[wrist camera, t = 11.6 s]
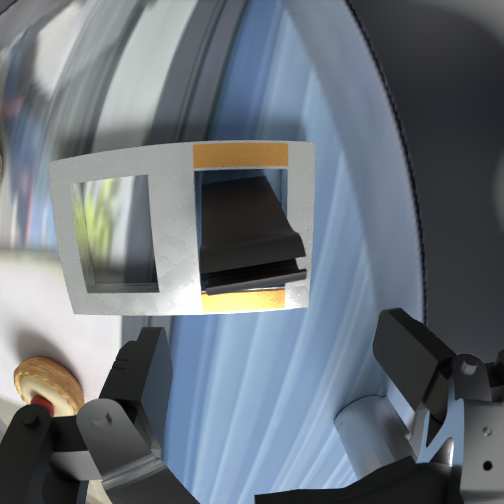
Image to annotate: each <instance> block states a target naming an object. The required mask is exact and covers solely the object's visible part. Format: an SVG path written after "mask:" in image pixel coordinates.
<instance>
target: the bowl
mask: <svg viewBox="0 0 504 504" xmlns="http://www.w3.org/2000/svg"><path fill="white" fill-rule="evenodd" d="M1 177H2V157H1V153H0V180H1Z"/></svg>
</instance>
